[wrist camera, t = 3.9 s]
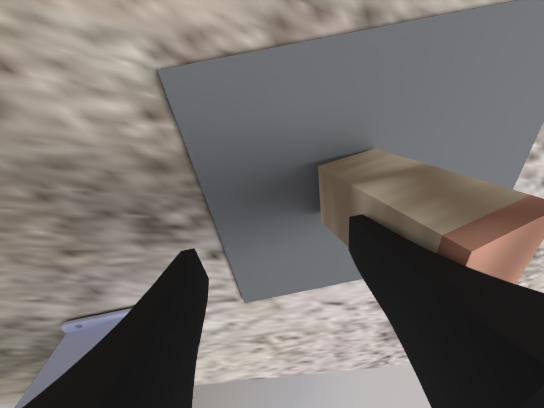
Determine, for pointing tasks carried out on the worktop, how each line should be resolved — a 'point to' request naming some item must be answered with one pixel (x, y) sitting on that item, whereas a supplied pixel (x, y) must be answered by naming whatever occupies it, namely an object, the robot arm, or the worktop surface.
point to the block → (434, 210)
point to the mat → (352, 127)
